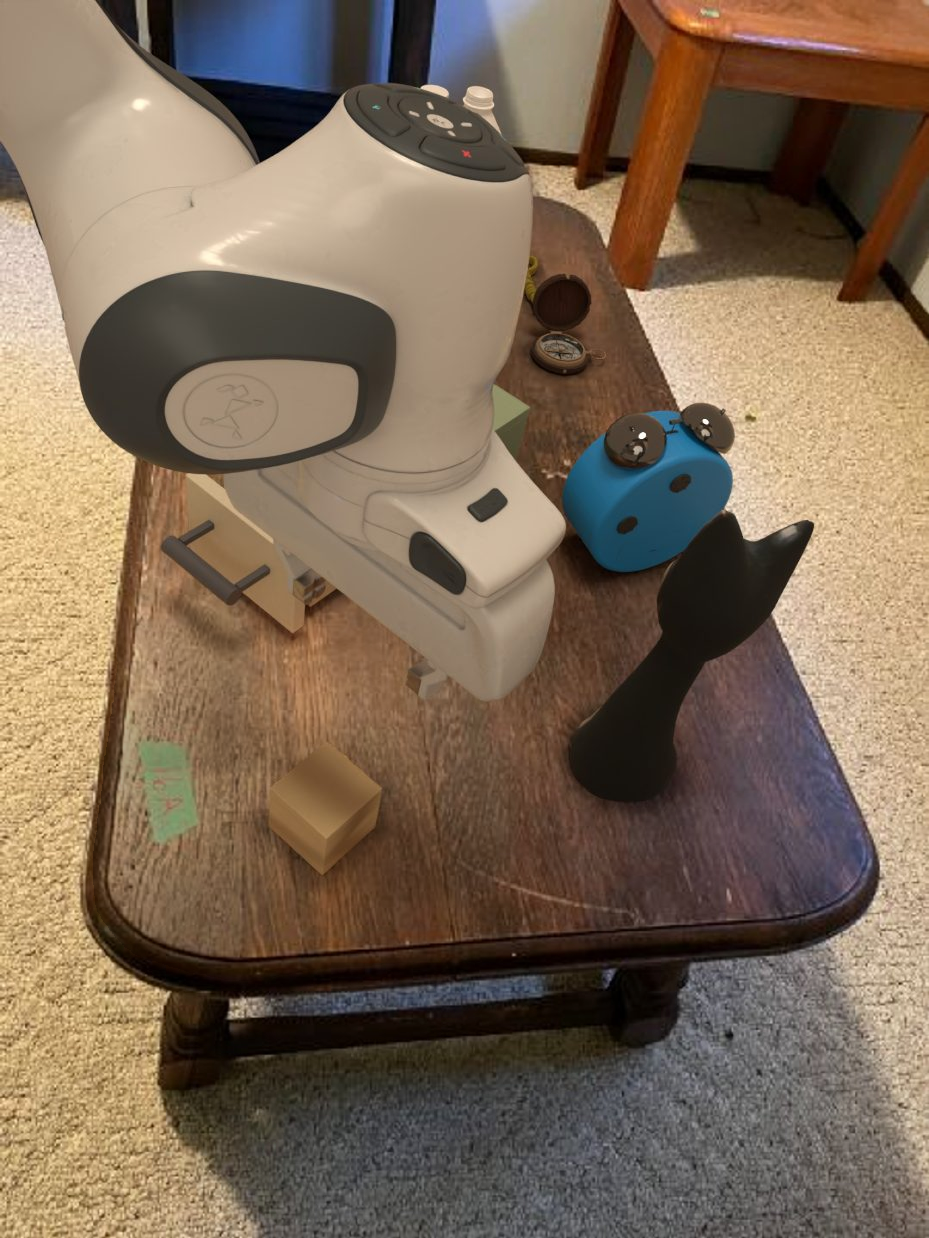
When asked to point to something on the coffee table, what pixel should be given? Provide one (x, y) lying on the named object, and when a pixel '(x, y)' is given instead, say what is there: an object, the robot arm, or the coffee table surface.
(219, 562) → the drawer
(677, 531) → the alarm clock
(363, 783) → the block
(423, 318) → the robot arm
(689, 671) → the figurine
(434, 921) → the coffee table surface
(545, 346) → the compass
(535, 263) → the key
